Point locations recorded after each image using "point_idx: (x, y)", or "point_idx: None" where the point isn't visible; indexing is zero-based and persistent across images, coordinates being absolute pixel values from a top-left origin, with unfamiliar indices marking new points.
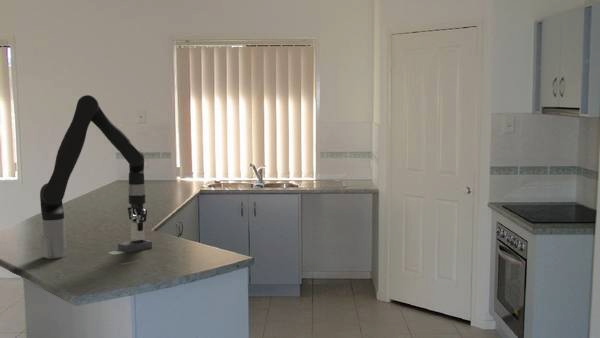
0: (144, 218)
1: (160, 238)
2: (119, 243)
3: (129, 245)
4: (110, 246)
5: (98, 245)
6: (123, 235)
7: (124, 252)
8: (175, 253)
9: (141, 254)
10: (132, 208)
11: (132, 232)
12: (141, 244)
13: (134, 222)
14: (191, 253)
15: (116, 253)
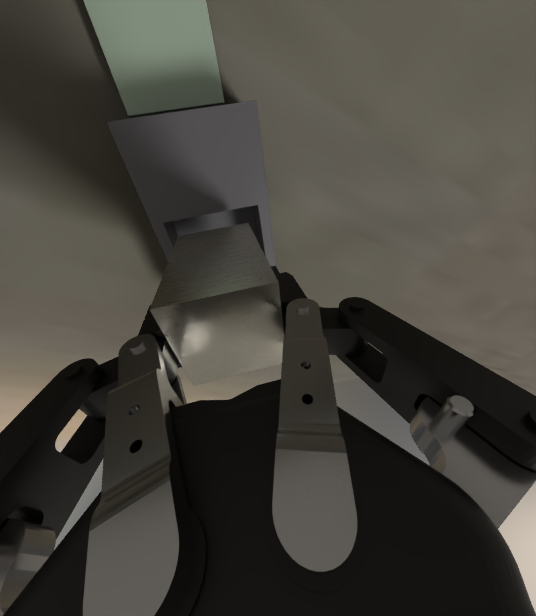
0: (95, 432)
1: None
2: (246, 111)
3: (122, 153)
4: (401, 133)
5: (486, 73)
6: (496, 274)
7: (123, 103)
8: (49, 348)
9: (79, 209)
10: (295, 560)
11: (232, 242)
12: (166, 253)
13: (195, 304)
14: (29, 390)
15: (108, 9)
